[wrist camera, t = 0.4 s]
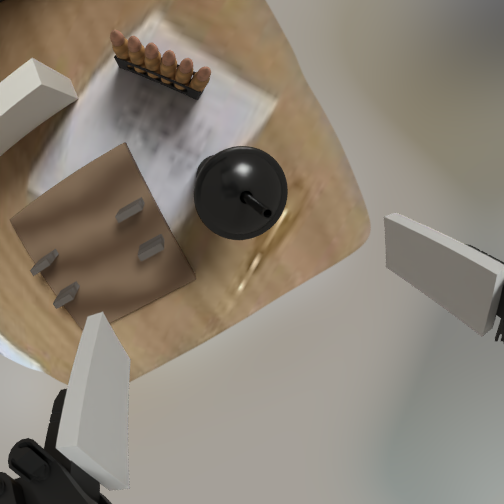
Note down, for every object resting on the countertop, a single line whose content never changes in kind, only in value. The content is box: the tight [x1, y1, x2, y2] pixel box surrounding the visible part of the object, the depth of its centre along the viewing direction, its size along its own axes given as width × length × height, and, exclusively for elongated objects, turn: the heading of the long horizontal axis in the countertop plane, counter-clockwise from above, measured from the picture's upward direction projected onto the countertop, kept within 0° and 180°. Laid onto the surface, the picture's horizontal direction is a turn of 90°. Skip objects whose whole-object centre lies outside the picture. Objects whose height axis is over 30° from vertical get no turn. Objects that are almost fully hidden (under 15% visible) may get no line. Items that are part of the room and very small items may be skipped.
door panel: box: [0, 58, 78, 156], centre depth 22 cm, size 3×16×12 cm, turn 113°
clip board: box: [10, 143, 196, 330], centre depth 33 cm, size 19×18×5 cm
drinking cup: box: [194, 146, 288, 240], centre depth 27 cm, size 8×8×20 cm
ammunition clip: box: [110, 30, 211, 100], centre depth 25 cm, size 11×2×12 cm, turn 62°
